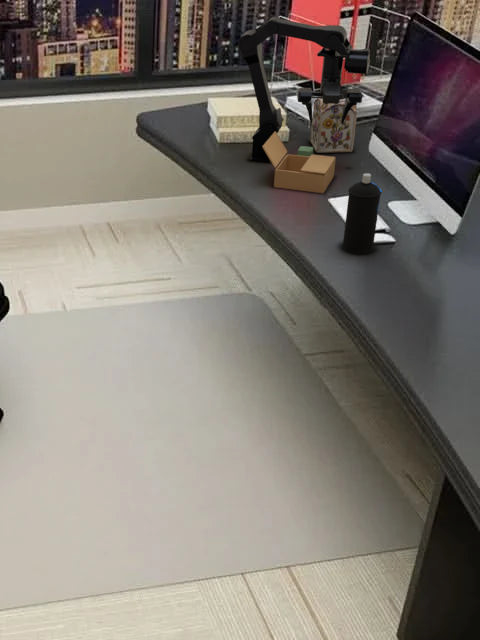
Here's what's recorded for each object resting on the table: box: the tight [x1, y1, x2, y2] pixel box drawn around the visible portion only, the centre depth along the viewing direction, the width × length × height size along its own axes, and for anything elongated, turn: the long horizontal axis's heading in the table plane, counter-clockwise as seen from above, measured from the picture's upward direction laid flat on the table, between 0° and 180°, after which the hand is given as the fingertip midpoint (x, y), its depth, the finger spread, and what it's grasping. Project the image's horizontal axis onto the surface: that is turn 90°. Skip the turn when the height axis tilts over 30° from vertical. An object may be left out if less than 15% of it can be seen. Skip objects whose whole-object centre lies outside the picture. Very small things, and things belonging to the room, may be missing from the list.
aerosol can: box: [341, 173, 383, 255], centre depth 255 cm, size 8×8×20 cm
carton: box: [273, 153, 336, 194], centre depth 298 cm, size 15×14×6 cm
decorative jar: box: [309, 98, 358, 154], centre depth 318 cm, size 12×12×18 cm
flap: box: [262, 131, 288, 169], centre depth 298 cm, size 7×14×1 cm
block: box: [296, 145, 314, 157], centre depth 313 cm, size 4×4×4 cm
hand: (326, 123), depth 304 cm, fingers open, 9 cm apart
